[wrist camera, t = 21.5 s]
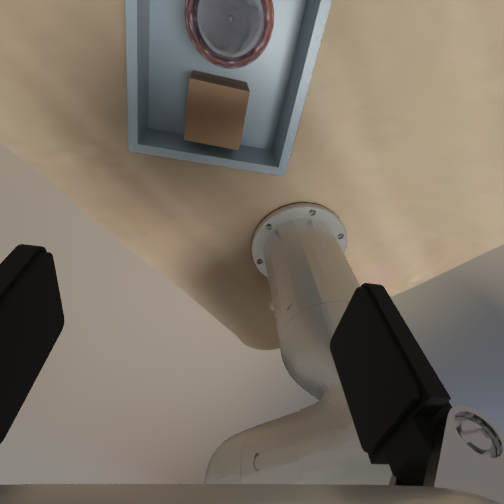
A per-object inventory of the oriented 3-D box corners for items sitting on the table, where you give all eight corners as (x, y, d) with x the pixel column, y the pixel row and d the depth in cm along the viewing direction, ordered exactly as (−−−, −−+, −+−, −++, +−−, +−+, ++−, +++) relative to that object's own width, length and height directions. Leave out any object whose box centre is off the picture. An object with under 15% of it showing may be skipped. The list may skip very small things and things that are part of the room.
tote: (276, 156, 36) (284, 176, 32) (141, 133, 34) (128, 151, 29) (327, -54, 26) (350, -69, 22) (141, -108, 24) (122, -139, 19)
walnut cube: (236, 134, 34) (238, 150, 30) (188, 124, 33) (183, 140, 29) (246, 82, 31) (250, 91, 27) (193, 70, 30) (189, 78, 26)
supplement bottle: (194, -35, 26) (179, -63, 17) (267, -22, 27) (291, -42, 18) (192, 52, 29) (179, 68, 20) (257, 61, 30) (273, 80, 21)
